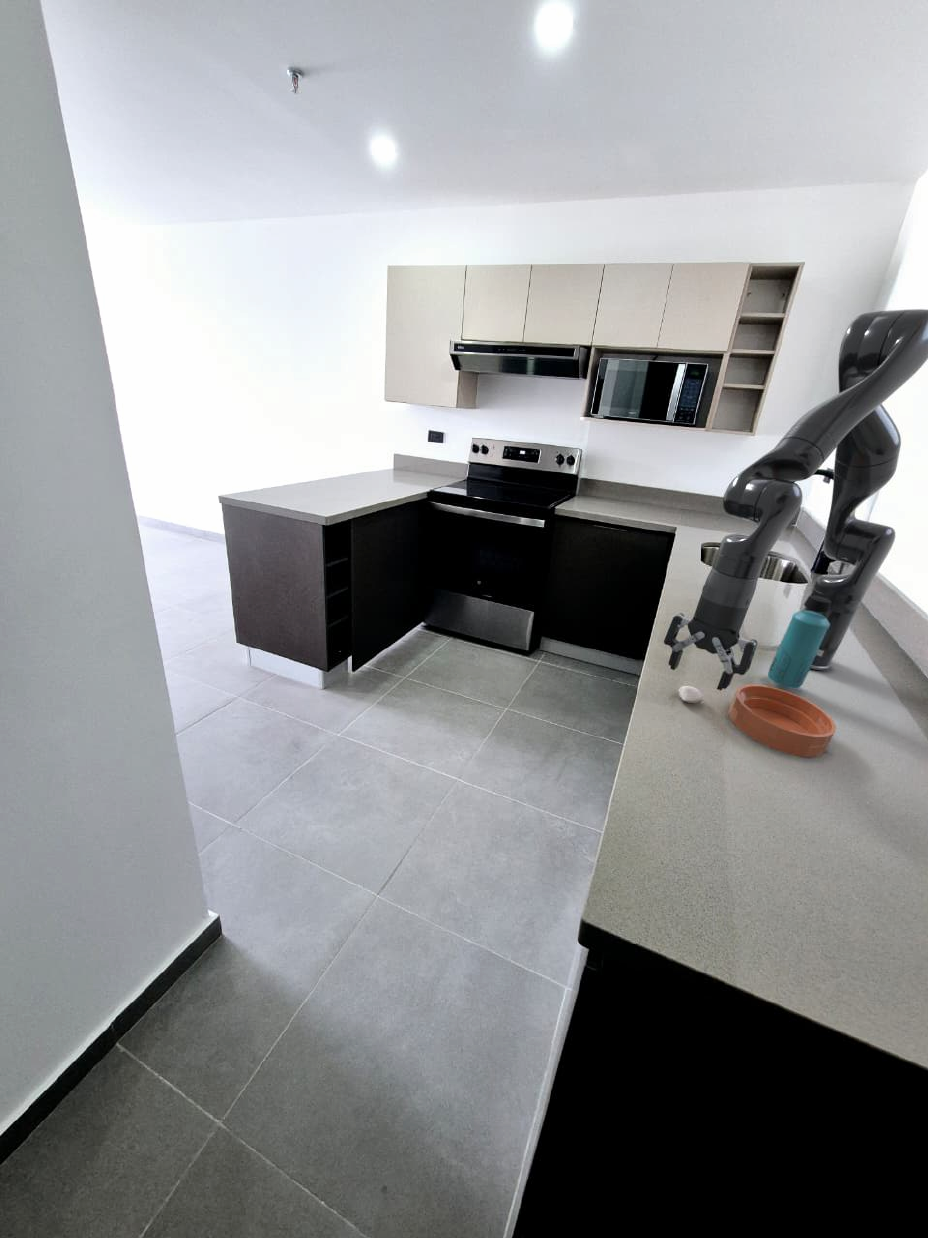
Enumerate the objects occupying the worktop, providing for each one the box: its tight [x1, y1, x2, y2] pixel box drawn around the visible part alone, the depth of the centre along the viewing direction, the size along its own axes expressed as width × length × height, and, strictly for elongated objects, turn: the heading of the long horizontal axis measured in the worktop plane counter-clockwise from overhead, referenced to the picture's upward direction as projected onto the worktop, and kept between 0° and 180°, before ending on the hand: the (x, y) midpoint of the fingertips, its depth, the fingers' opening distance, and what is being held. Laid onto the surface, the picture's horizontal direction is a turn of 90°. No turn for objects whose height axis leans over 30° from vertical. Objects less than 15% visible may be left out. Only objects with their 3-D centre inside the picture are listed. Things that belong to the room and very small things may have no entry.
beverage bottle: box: [767, 595, 832, 689], centre depth 97 cm, size 6×7×20 cm
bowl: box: [728, 684, 837, 758], centre depth 85 cm, size 15×15×4 cm
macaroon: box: [677, 685, 704, 704], centre depth 90 cm, size 4×5×2 cm
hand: (696, 678), depth 89 cm, fingers open, 8 cm apart
